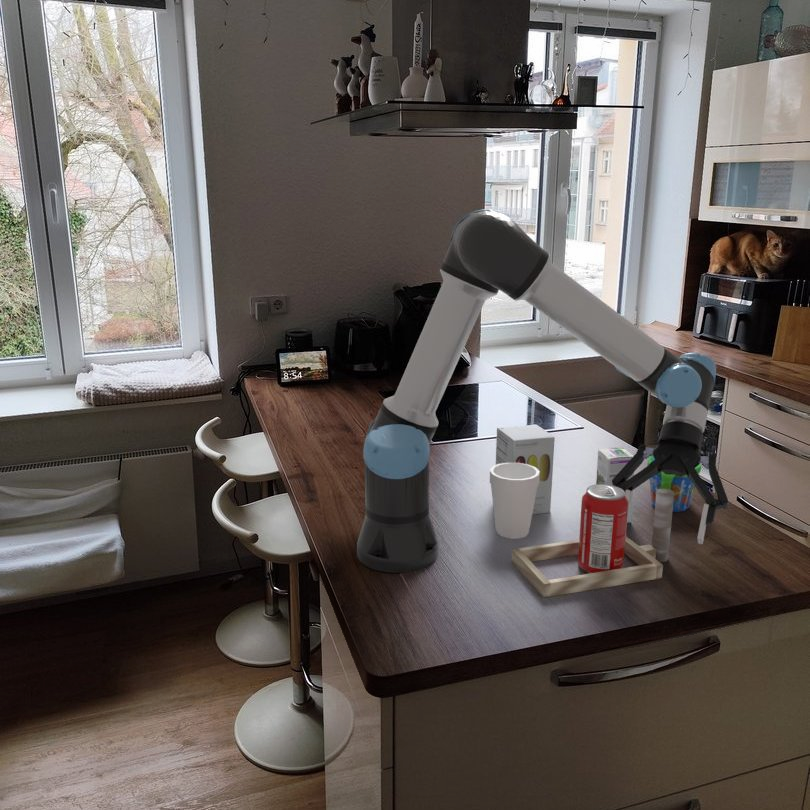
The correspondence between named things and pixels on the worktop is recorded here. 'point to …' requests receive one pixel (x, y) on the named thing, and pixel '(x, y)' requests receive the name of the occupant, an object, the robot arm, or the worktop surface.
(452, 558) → the worktop surface
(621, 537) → the soda can
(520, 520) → the foam cup
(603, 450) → the syrup box
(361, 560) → the robot arm
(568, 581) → the birch pull frame
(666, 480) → the snack cup
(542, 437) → the supplement box
